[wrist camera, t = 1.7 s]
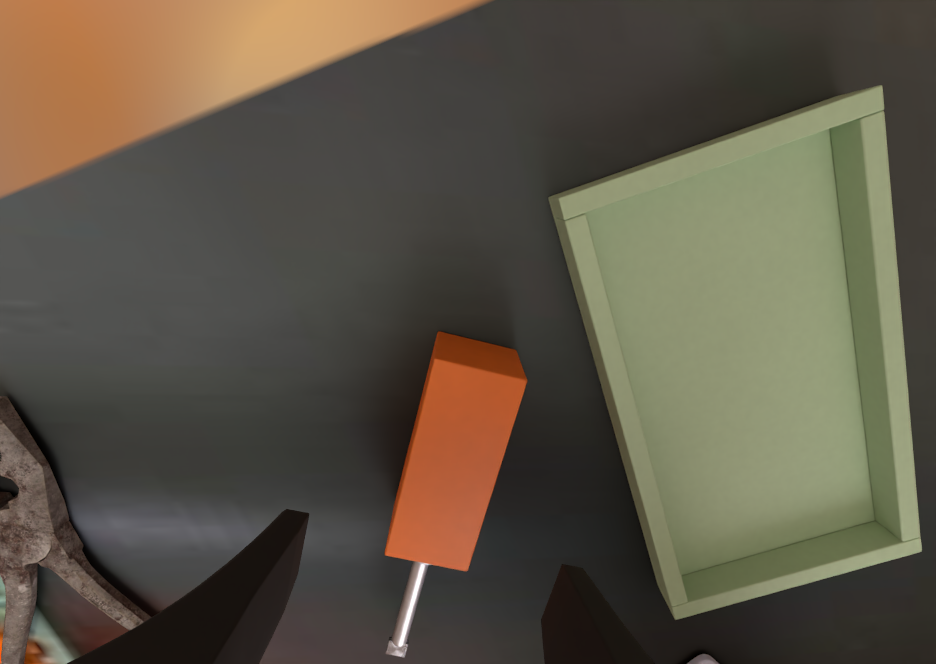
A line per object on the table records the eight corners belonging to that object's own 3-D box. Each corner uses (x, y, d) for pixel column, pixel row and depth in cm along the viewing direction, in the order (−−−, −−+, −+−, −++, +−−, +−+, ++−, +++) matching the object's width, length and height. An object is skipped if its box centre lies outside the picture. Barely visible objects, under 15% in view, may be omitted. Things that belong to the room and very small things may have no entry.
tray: (884, 521, 23) (922, 552, 21) (657, 586, 24) (675, 620, 22) (837, 95, 18) (883, 84, 16) (547, 197, 19) (558, 198, 17)
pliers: (62, 779, 25) (-219, 469, 20) (74, 761, 26) (-192, 458, 21) (226, 729, 25) (-19, 391, 19) (234, 711, 25) (1, 383, 20)
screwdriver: (437, 330, 20) (433, 358, 17) (516, 349, 20) (528, 380, 17) (366, 616, 24) (351, 682, 21) (432, 628, 24) (428, 696, 21)
